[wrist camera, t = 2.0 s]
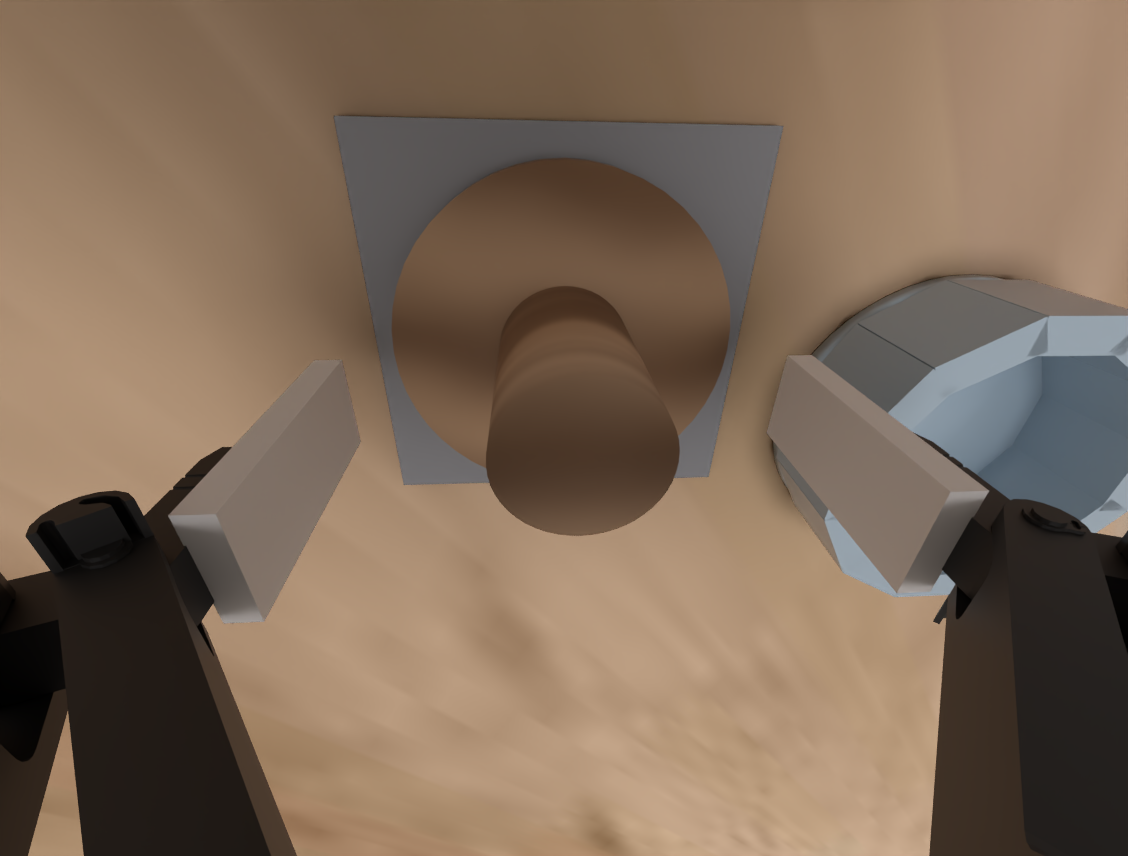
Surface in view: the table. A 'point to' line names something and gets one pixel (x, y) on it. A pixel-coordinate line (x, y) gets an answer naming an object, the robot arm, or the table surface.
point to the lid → (563, 337)
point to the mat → (483, 146)
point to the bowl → (990, 396)
